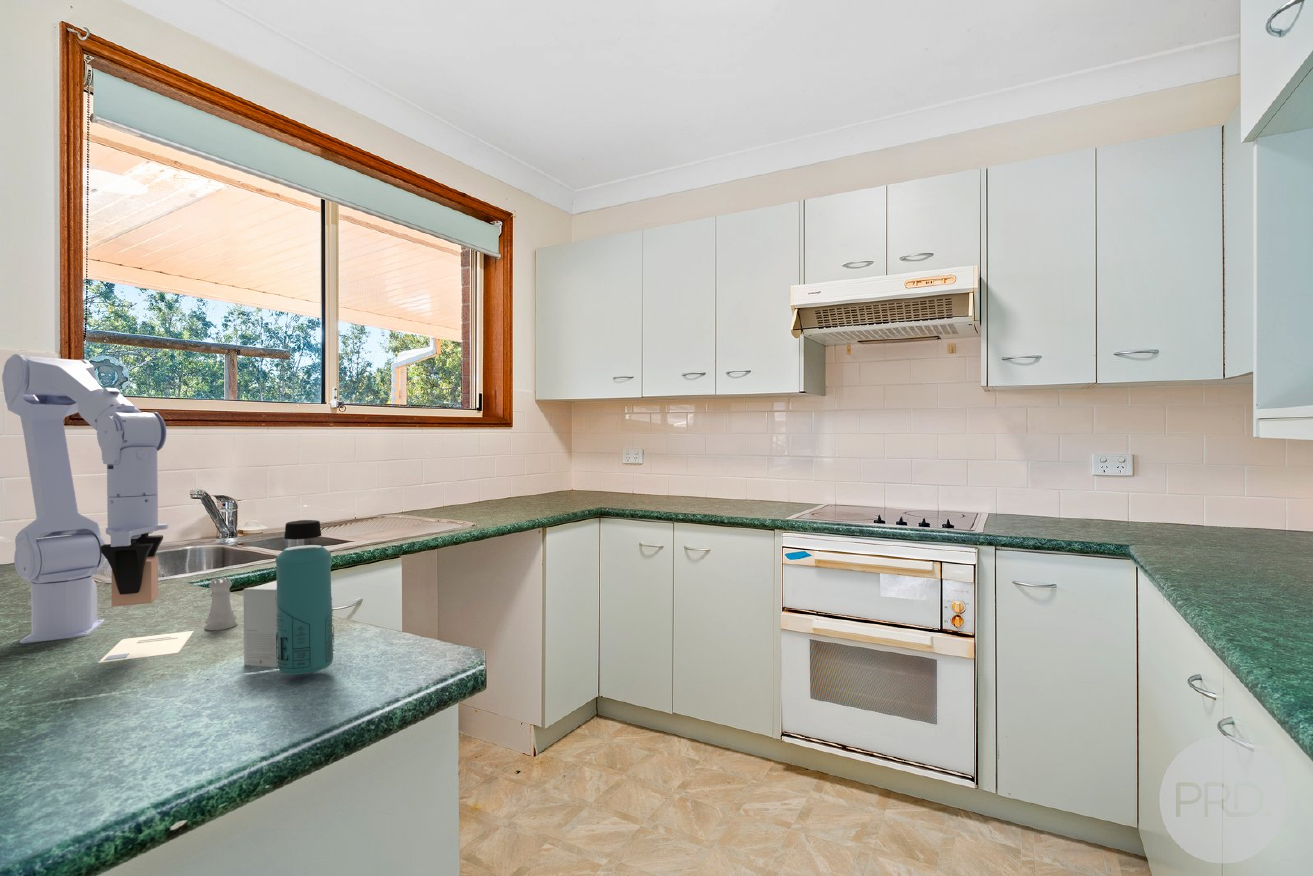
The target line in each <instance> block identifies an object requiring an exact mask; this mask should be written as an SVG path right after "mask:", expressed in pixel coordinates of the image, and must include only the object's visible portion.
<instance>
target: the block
mask: <svg viewBox="0 0 1313 876" xmlns="http://www.w3.org/2000/svg"><path fill="white" fill-rule="evenodd" d="M158 597H159V556H158V555H157V556H156V555H155V556H154V557H147V559H146V562H145V566H144V571H143V577H142V584H141V588H140V591H139V592H138V593H134V594H123V595H120V593H119V591H118V588H117V585H116V581H115V578H114V574H113V571H112V570H111V607H112V608H114V607H123V606H135V605H144V604H145V605H146V604H152V603H153V602H154V601H156V599H157V598H158Z"/></svg>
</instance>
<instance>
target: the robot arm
mask: <svg viewBox="0 0 1313 876" xmlns="http://www.w3.org/2000/svg"><path fill="white" fill-rule="evenodd" d="M3 366H4V367H3V371H2V374H1V375H2V376H1V377H2V378H1V379H2V388H3V393H4V400H5V401H4V402H5V403H6V406H7V407H6V408H7V410H8V411H9V412H11V413H12V414H15V415H18V416H19V417H20V421H21V426H22V427H21V428H22V431H23V438H24V443H25V451H26V457H27V463H28V469H29V470H28V471H29V476H30V477H29V478H30V483H31V488H32V489H31V490H32V496H33V503H34V508H35V516H36V519H34V520H33V521H32V522H30V523H29V524H28V525H26V526H25V527H24V528H22V529H21V530H20V531H18V533H17V534H16V536H15V538H14V540H15V541H14V542H15V543H14V544H15V550H14V557H13V561H14V567H15V568H14V569H15V571H16V573H17V575H18V576H19V577H20V578H22V579H23V580H25V582H29V583H30V592H31V593H30V598H31V600H30V601H31V602H30V604H31V607H30V609H31V611H30V612H31V615H30V616H31V619H30V620H31V633H29V634H28V635H27V636H25V637H24V638H22V639H20V640H19V644H26V643H27V644H28V643H36V642H46V641H47V642H48V641H55V640H64V639H73V638H81V637H87V636H89V635H90V634H91V633H93V632H94V631H95V630H97V629H98V628H99V627H100V626H102V625H103V624H104V623H106V619H98V586H97V582H96V581H95V580H94V579H93V576H95V575H98V571H99V570H100V569H101V568H102V567H103V566H104V564H105V562H106V561H107V562H108V565H109V566H110V568H111V572H112V571H113V574H114V578H115V581H116V585H117V588H118V591H119V593H120V595H123V594H134V593H138V592H139V591H140V588H141V584H142V577H143V571H144V566H145V562H146V559H147V557H154V556H156V554H157V551H158V549H159V547H160V546H161V543H162V542H163V540H164V535H162V534H161V535H160V534H159V535H157V534H156V535H152V534H153V533H154V532H157V531H160V530H163V531H164V530H167V529H169V524H168V523H159V508H158V507H159V502H158V501H159V500H158V499H159V498H158V496H159V495H158V493H159V490H158V489H159V488H158V486H159V485H158V481H159V480H158V477H159V476H158V451H160V450H161V449H162V448H163V447H164V445H165V443H166V439H167V425H166V422H165V420H164V418H163V417H162V416H161V415H160V413H159V412H157V411H149V412H144V411H142V410H140V409H139V408H138V407H137V406H135V405H134V404H132V402H131V401H129V400H128V399H127V398H125V396H124V395H122V394H121V391H120V390H119V389H117V388H115V387H114V388H113V387H112V388H111V387H104V388H103V387H102V386H101V385H100V384H99V383H98V382H97V376H96V371H95V366H94V365H93V364H91V363H90V361H89V360H87V359H82V358H80V359H70V358H69V359H67V358H55V357H47V356H46V357H45V356H34V355H33V356H32V355H23V354H19V353H14V354H12V355H11V356H9V358H8V359H6V361H5V362H4V365H3ZM77 413H78V414H79V416H80V417H81V418H82V419H83V420H84V421H85V422H86V423H87V424H89V426H91V427H92V428H93V429H94V430H95V431H96V438H97V443H98V446H99V448H100V450H101V461H102V464H103V465H106V484H107V485H106V497H107V498H106V500H107V505H106V506H107V508H106V509H107V511H106V512H107V514H106V515H107V527H106V528H105V534H106V535H108V536H109V537H110V543H109V544H108V543H106V541H105V538H104V536H103V535H102V533H101V530H100V529H101V528H100V525H99V523H98V522H97V521H95V520H93V519H91V518H89V517H87V516H85V515H83V514H81V513H80V512H79V509H78V504H77V497H76V492H75V487H74V486H75V485H74V478H73V473H72V468H71V462H70V455H69V449H68V443H67V435H66V430H65V429H66V428H65V425H64V420H65V418H66V417H69V416H72V415H74V414H77ZM150 534H151V535H150Z"/></svg>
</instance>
